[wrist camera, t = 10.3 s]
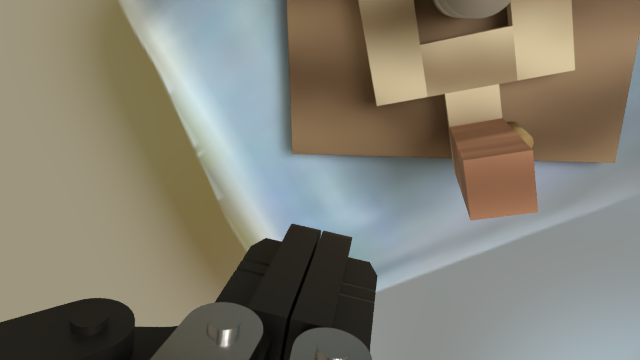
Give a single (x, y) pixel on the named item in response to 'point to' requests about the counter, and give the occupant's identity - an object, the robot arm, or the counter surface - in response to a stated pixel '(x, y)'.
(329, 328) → the robot arm
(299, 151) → the post base
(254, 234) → the counter surface
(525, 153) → the square frame with handle
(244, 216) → the counter surface
